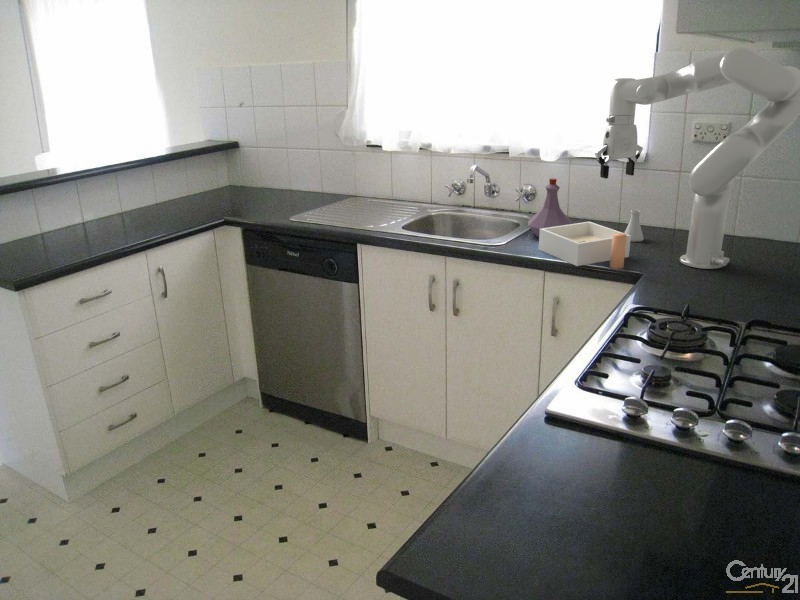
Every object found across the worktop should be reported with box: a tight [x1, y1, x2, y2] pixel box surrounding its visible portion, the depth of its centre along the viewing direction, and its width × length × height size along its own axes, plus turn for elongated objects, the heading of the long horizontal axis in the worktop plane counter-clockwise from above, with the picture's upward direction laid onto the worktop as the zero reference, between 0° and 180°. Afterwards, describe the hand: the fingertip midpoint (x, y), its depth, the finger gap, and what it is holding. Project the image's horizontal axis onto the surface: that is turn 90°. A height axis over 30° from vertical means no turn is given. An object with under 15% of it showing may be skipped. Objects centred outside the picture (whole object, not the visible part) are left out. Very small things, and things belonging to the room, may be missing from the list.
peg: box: [609, 232, 627, 270], centre depth 202 cm, size 4×4×10 cm
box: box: [538, 221, 631, 267], centre depth 216 cm, size 20×20×7 cm
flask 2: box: [624, 209, 645, 243], centre depth 229 cm, size 7×7×10 cm
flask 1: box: [527, 178, 573, 238], centre depth 234 cm, size 16×16×20 cm
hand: (616, 176), depth 213 cm, fingers open, 9 cm apart
